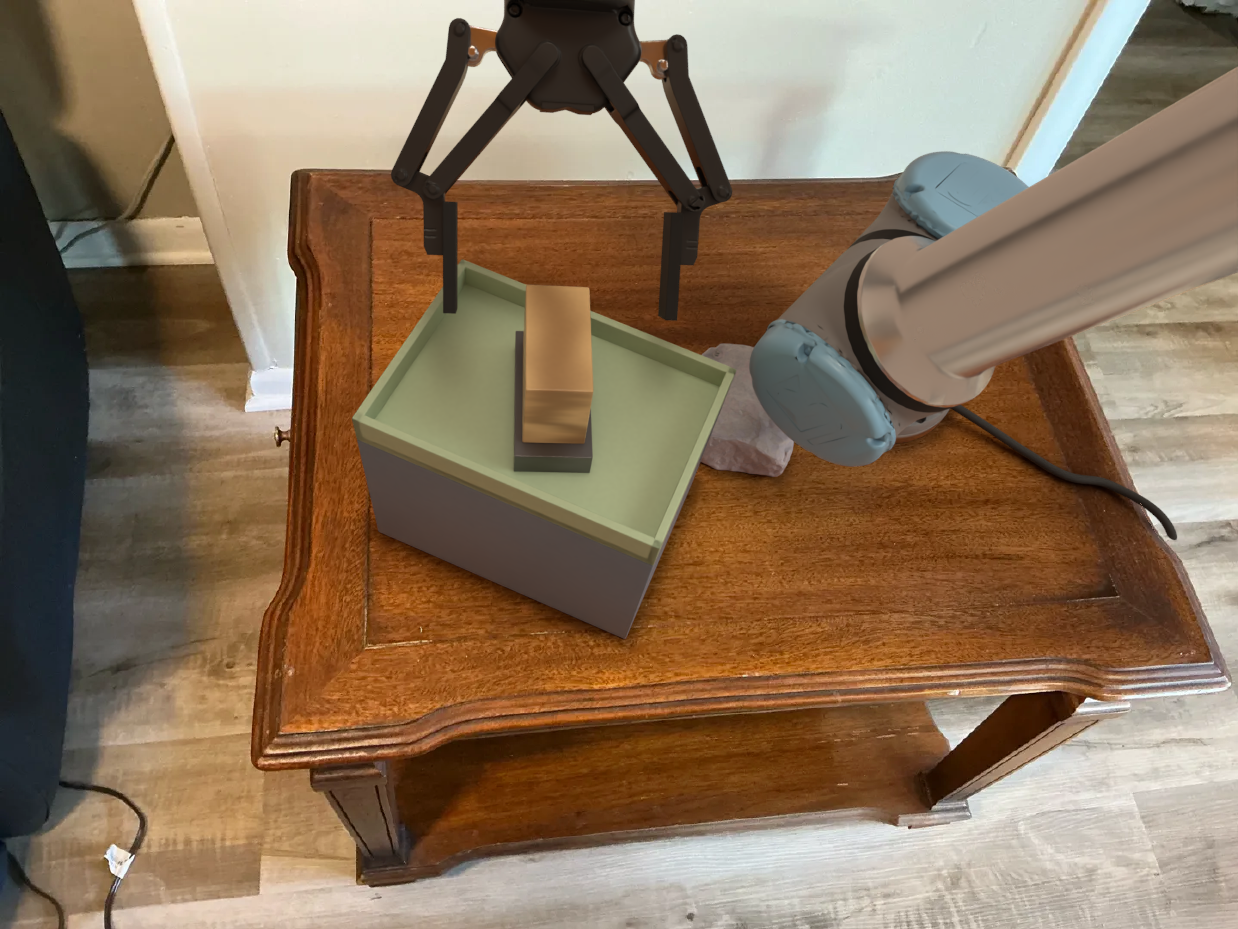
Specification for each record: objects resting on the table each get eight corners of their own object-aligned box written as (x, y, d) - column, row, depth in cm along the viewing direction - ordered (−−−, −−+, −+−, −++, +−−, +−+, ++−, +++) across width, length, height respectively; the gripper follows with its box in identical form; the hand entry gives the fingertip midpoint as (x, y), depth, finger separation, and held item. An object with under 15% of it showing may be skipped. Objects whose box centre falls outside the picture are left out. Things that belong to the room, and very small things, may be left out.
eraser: (585, 350, 66) (596, 274, 59) (589, 473, 61) (602, 406, 54) (514, 348, 65) (518, 271, 58) (513, 471, 60) (516, 403, 54)
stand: (691, 483, 79) (728, 390, 67) (625, 639, 71) (653, 566, 59) (466, 389, 81) (462, 282, 69) (378, 531, 73) (356, 439, 61)
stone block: (675, 471, 81) (790, 485, 79) (673, 439, 77) (795, 452, 76) (694, 367, 88) (801, 378, 86) (693, 333, 84) (806, 343, 82)
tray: (728, 390, 67) (737, 369, 65) (653, 566, 59) (659, 549, 57) (462, 282, 69) (461, 258, 66) (356, 439, 61) (351, 418, 59)
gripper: (766, -28, 58) (739, 314, 63) (355, -63, 55) (364, 302, 60) (804, -62, 51) (770, 328, 56) (333, -104, 47) (346, 314, 53)
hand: (560, 315), depth 58 cm, fingers open, 13 cm apart
